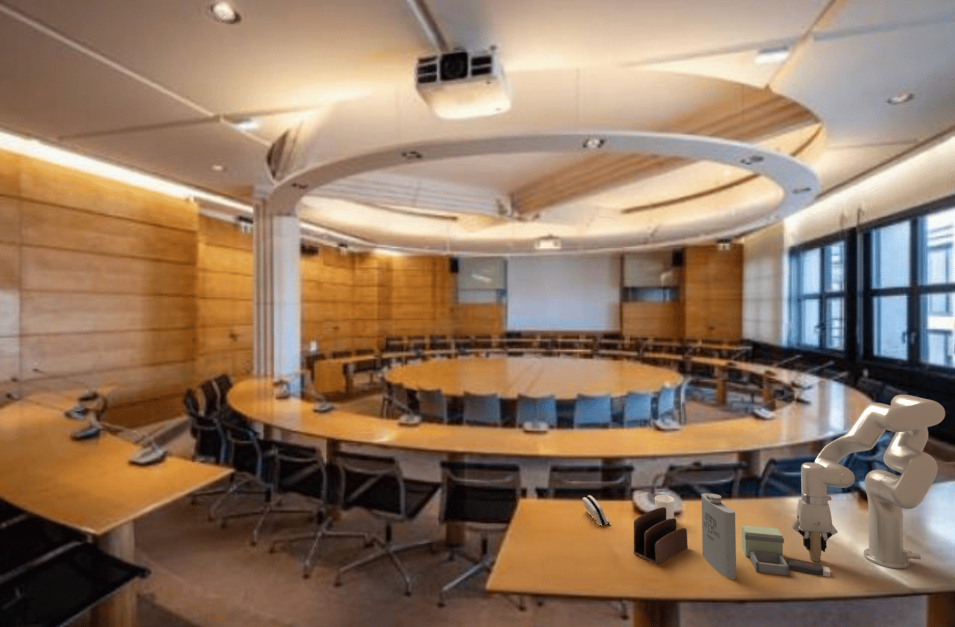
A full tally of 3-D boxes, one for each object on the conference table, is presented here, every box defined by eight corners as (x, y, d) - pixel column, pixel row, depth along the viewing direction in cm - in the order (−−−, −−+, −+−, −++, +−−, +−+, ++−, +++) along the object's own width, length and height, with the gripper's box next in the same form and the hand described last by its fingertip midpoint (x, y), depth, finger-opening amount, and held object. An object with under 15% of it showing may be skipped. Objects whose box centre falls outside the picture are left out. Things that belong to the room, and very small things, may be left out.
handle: (802, 555, 181) (802, 514, 180) (823, 558, 178) (822, 516, 178) (806, 562, 176) (806, 520, 176) (827, 564, 174) (827, 522, 174)
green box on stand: (778, 552, 183) (778, 528, 183) (793, 576, 167) (792, 549, 167) (741, 548, 187) (741, 525, 187) (752, 571, 171) (752, 545, 171)
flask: (698, 553, 184) (697, 486, 184) (710, 552, 184) (709, 486, 184) (725, 579, 166) (723, 505, 166) (738, 578, 167) (736, 504, 166)
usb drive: (787, 563, 176) (787, 555, 176) (828, 571, 170) (828, 563, 170) (788, 570, 171) (788, 562, 171) (830, 579, 166) (830, 571, 165)
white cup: (676, 520, 212) (676, 497, 212) (672, 527, 206) (672, 503, 206) (657, 516, 217) (657, 493, 216) (653, 523, 210) (652, 500, 210)
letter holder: (633, 554, 185) (632, 517, 185) (665, 539, 196) (664, 503, 196) (656, 565, 177) (655, 526, 176) (688, 548, 188) (687, 512, 188)
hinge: (611, 525, 209) (603, 504, 208) (601, 530, 208) (593, 508, 208) (596, 509, 225) (589, 489, 225) (587, 514, 225) (579, 494, 224)
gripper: (836, 496, 178) (837, 547, 178) (784, 492, 183) (785, 541, 183) (845, 504, 171) (846, 557, 171) (790, 500, 176) (791, 551, 176)
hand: (814, 548), depth 177 cm, fingers closed on handle, 4 cm apart
